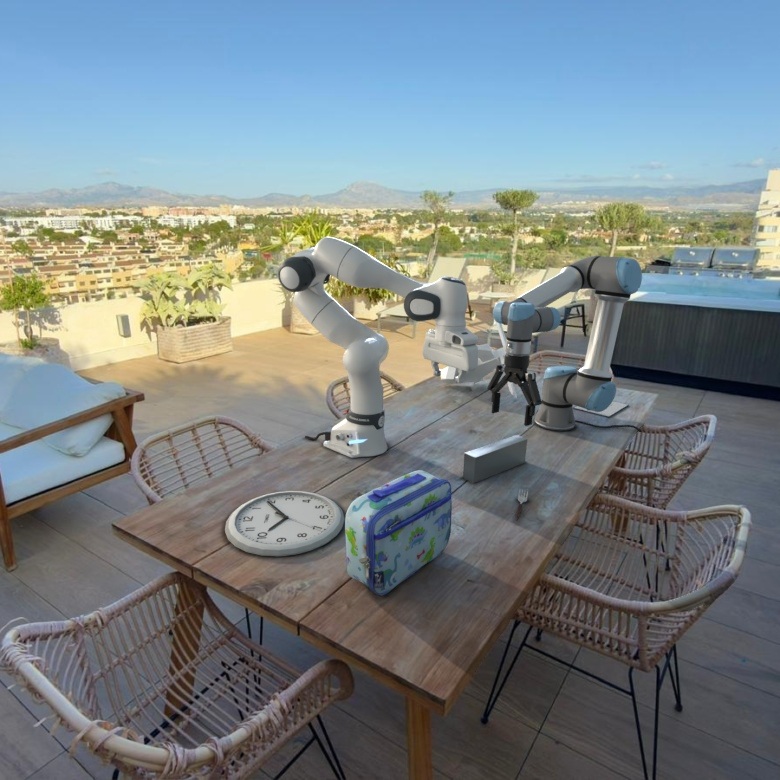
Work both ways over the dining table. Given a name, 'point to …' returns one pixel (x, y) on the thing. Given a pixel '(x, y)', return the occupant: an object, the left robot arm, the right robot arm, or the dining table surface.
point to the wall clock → (284, 523)
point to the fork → (521, 499)
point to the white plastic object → (481, 364)
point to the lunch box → (397, 529)
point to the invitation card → (609, 411)
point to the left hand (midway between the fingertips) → (447, 379)
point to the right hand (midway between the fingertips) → (511, 418)
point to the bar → (494, 458)
